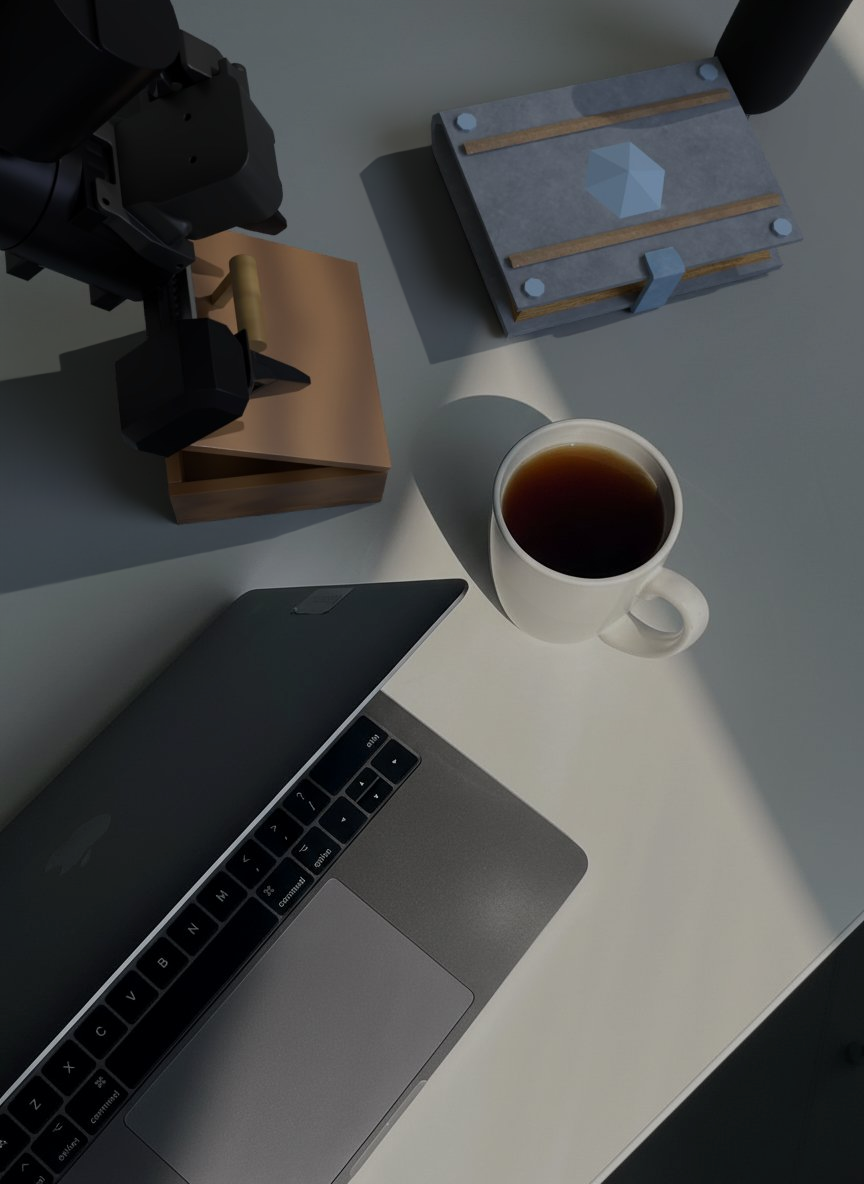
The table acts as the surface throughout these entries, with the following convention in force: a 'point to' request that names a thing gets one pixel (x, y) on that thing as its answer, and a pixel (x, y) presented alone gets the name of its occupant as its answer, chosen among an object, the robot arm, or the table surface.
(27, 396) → the table surface
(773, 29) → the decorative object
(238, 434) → the lid
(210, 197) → the robot arm
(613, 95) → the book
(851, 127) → the table surface
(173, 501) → the chest
